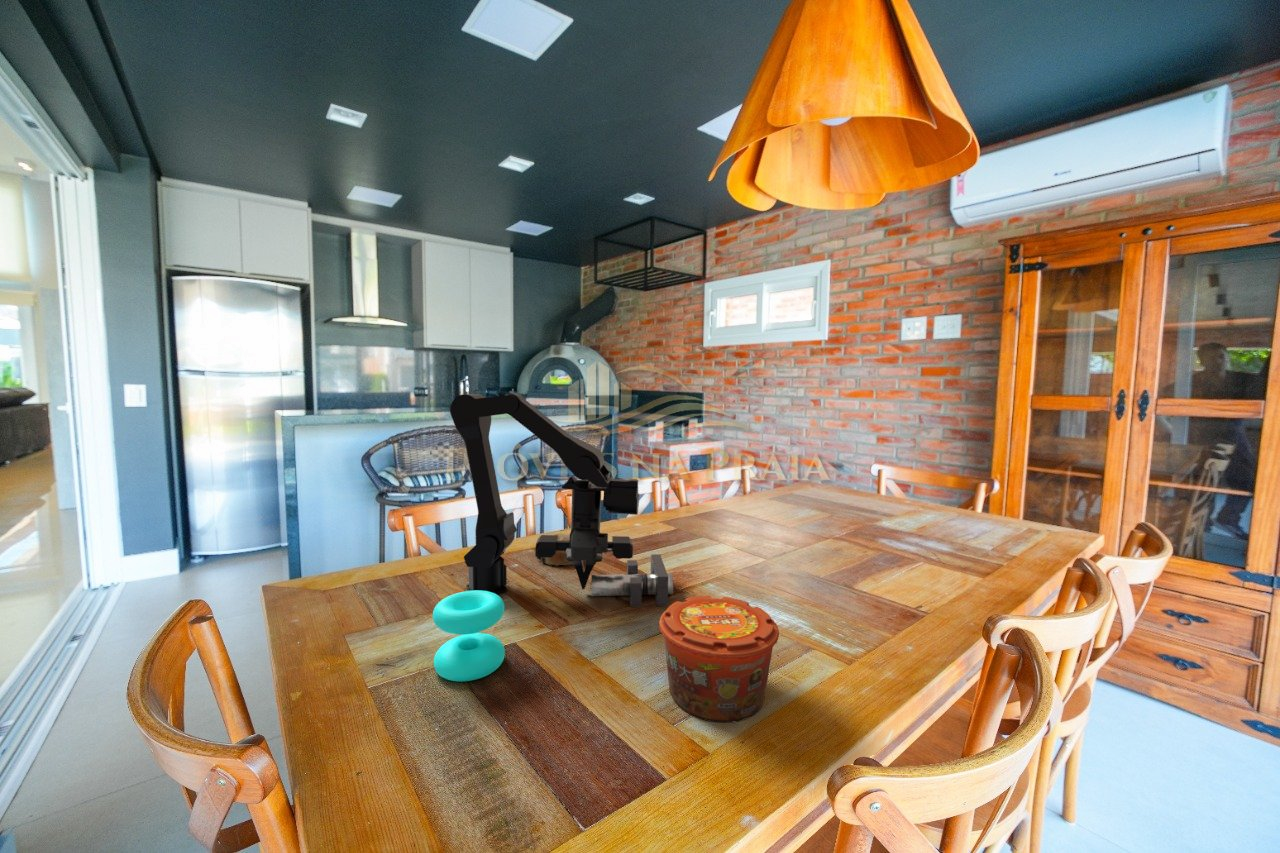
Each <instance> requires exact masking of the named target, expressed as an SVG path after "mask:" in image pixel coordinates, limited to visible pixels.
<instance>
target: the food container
mask: <svg viewBox="0 0 1280 853" xmlns="http://www.w3.org/2000/svg"><path fill="white" fill-rule="evenodd" d="M667 607H668V608H666V610H665V611H664V612H663V613H662V614H661V615H660V617H659V622H658V626H659V628H658V629H659V632H661V634H662V635H663V640H664V649H665V658H666V668H667V678H668V688H669V689H668V690H669V693H670V696H671V699H673V701H674V702H675V704H676V705H677V706H678V707H679V708H681V709H682V710H683V711H685V712H686V713H688V714H690V715H691V714H692V716H693V715H694V716H693V717H696V718H698V719H701V718H702V720H704V719H706V720H705V721H708V720H711V721H710V722H714V721H719V722H718V723H734V722H733V721H738V722H740V720H741V721H744V720H747V719H748V718H750V717H752V716H754V715H756V713H758V712H759V711H760V710H761V708H762V707H763V705H764V702H765V699H766V698H765V697H766V692H767V691H766V690H767V684H768V678H769V673H770V666H771V660H772V656H773V655H772V654H773V649H774V646H775V645H776V644H777V642H778V640H779V637H780V636H779V635H780V630H779V626H778V625H777V623H776V622H775V621H774V619H772V617H771V616H770V614H768V612H766V611H765V610H764V609H763V608H761V607H759V606H751V605H750V603H749V602H748V601H744V600H742V599H738V598H735V597H734V598H733V597H730V596H722V597H721V598H716V597H712V596H711V595H695V596H691V597H686V598H685V599H684V601H679V600H677V601H675V602H673V603H672V604H670V605H669V606H667ZM746 718H747V719H746ZM743 719H744V720H743Z"/></svg>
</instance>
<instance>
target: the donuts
mask: <svg viewBox="0 0 1280 853" xmlns="http://www.w3.org/2000/svg"><path fill="white" fill-rule="evenodd" d="M504 613H505V602H504V601H503V599H502V597H500V595H498V593H496V594H495V593H492V592H488V591H481V590H473V591H469V590H466V591H461V592H457V593H452V594H451V595H448V596H447V597H445V598H443V599H441V600H440V601H439V602H438V603H437V604H436V605H435V607H434V608H433V612H432V621H433V623H434V624H435V626H436V627H437V628H438V629H440V630H441V631H443V632H445V633H447V634H452V635H458V636H456V637H453V638H451V639H449V640H447V641H446V642H444V643H443V644H442V645H441V646H440V647H439V648H438V650H437V651H436V653H435V655H434V658H433V666H434V671H435V672H436V673H437V675H439V676H440V677H441V678H443V679H445V680H448V681H453V682H470V681H476V680H479V679H483V678H484V677H486V676H489V675H491V674H492V673H494V672H495V671H496V670H497V669H499V667H501V665H502V663H503V662H504V660H505V655H506V649H505V646H504V644H503V643H502V641H501V640H500V639H499V638H498V637H496V636H494V635H492V634H489V633H483V631H486V630H489V628H492V627H494V625H496V624H497V623H498V622H499V621H500V619H501V618H502V617H503V615H504Z"/></svg>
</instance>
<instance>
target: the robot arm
mask: <svg viewBox="0 0 1280 853" xmlns="http://www.w3.org/2000/svg"><path fill="white" fill-rule="evenodd" d="M525 398H526V397H524V396H523V395H522V394H521V393H517V392H514V393H511V392H510V393H507V394H504V395H496V396H488V397H487V396H485V395H483V394H481V393H466V394H460V395H457V396H456V397H455V398H453V399H452V402H451V403H450V405H449V413H450V416H451V418H452V421H453V422H452V423H453V424H454V426H455V429H456V431H457V432H458V434H459V436H460V437H461V439H462V440H463V441H464V444H465V449H466V450H465V451H466V455H467V460H468V465H469V471H470V475H471V481H472V486H473V491H474V492H473V493H474V496H475V502H476V508H477V518H476V524H475V529H474V530H475V545H474V546H473V547H472V548H471V549H470V550H469V551H468V552H467V553H466V554H465V555H464V556H463V559H464V563H465V565H466V567H468V584H466V586H465V587H466V588H465V589H467V591H473V590H481V591H488V592H492V593H495V594H500V593H504V592H508V587H507V584H508V583H507V582H508V581H507V580H508V578H507V577H508V576H507V575H508V574H507V573H508V571H507V569H508V568H507V564H505V559H504V557H502V555H503V554H504V553H505V552H506V550H507V549H508V548H509V547H510V546H511V545H512V543H513V542H514V540H515V537H516V536H515V535H516V532H518V528H517V527H516V524H515V514H514V511H511V512H508V513H507V511H506V510H505V508H504V507H503V506H502V502H501V496H500V490H499V485H498V480H497V474H496V469H495V465H494V460H493V459H494V458H493V453H492V447H491V443H490V431H491V426H492V416H498V415H509V416H510V417H512V418H513V419H514V420H515V421H517V422H518V423H519V424H520V425H522V426H523V427H524V428H525V429H527V430H528V431H529V432H531V433H532V434H533V435H534V436H535V437H537V438H538V439H539V440H540V441H542V442H543V443H544V444H545V445H547V446H548V447H550V449H552V450H553V451H554V452H555V453H556V454H557V455H558V456H559V459H560V460H561V462H562V463H563V464H564V466H566V468H567V469H568V470H569V471H570V472H571V473H572V475H570V476H569V477H568V479H567V481H565V483H563V484H562V485H561V489H563V490H571V506H570V507H571V514H570V516H571V517H570V532H569V535H570V540H569V541H558V535H555V534H540V535H539V536H538V538H537V540H536V543H535V549H534V551H535V553H534V554H535V555H534V556H535V557H536V558H537V557H552V556H554V555H555V554H556V551H566V553H567V556H566V561H569V562H572V563H573V564H572V565H573V567H574V568H575V571H576V573H577V576H578V581H579V584H580V586H581V590H585V589H586V586H587V583H588V581H589V577H590V576H591V572H592V571H593V568H594V567H595V565H596V564H597V563H600V562H603V553H604V554H606V553H608V552H612V555H613V556H614V557H615V558H616V559H627V560H629V559H633V558H634V557H633V555H634V545H633V541H632V540H633V539H632V538H631V537H630V536H621V535H620V536H619V535H617V536H616V535H615V536H612V539H611V541H608V540H609V534H608V533H607V532H606V533H605V532H602V533H601V511H602V510H601V508H602V507H601V505H602V504H603V505H602V506H603V509H604V508H605V511H608V513H609V514H617V515H619V514H621V515H632V516H633V515H634V516H638V514H639V504H640V493H639V479H637V478H631V479H623V478H622V479H621V478H620V479H618V478H614V477H613V475H612V473H611V472H610V471H609V469H608V468H607V466H606V465H605V458H604V454H603V452H602V451H601V450H600V449H599V448H597V447H595V446H593V445H591V444H589V443H588V442H586V441H584V440H582V439H579V438H577V437H575V436H573V435H571V434H569V433H568V432H567V431H565V430H564V429H563V428H562V427H560V426H559V425H558V424H557V423H555V422H554V421H553V420H552V419H550V418H549V417H548V416H546V415H545V414H544V413H543V412H541V410H539V409H538V408H536V407H535V406H534V405H533V404H532V403H530V402H529V401H527V400H526V399H525ZM577 478H578V479H577ZM602 492H603V498H602ZM602 499H603V501H602ZM584 561H585V564H584Z"/></svg>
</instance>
